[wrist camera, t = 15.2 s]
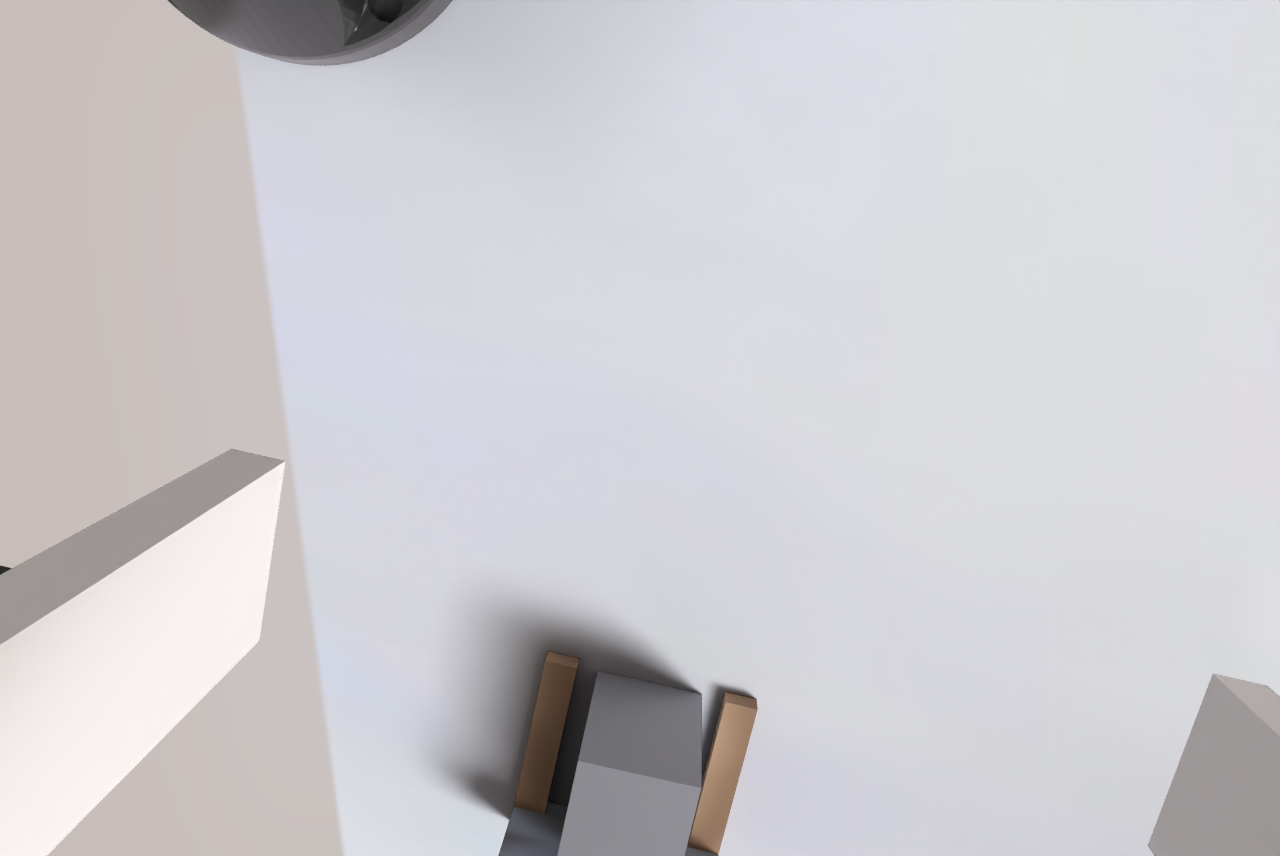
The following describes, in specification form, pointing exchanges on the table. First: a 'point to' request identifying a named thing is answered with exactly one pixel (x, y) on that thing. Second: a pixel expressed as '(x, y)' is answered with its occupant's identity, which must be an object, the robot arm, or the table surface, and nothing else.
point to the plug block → (635, 771)
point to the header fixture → (533, 818)
